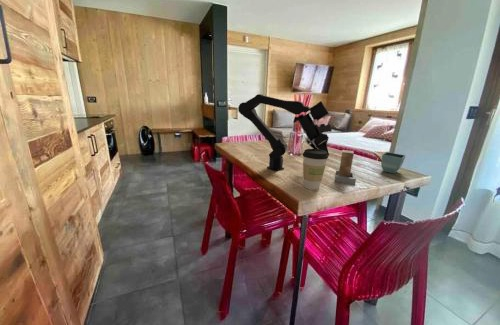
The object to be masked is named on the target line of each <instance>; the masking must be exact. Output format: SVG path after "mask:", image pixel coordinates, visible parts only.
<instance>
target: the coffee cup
mask: <svg viewBox="0 0 500 325" xmlns="http://www.w3.org/2000/svg"><path fill="white" fill-rule="evenodd" d="M302 157H303V161H302V169H303V170H302V171H303V172H302V174H303V175H302V176H303V187H304V188H306V189H308V190H311V191H315V190H316V191H317V190H319V189H320V186H321V182H322V179H323V177H324V172H325V170H326V166H327V159H329V156H328V155H327V152H326V151H324V150H320V149H313V148H307V149H304V151H303V152H302Z"/></svg>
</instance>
